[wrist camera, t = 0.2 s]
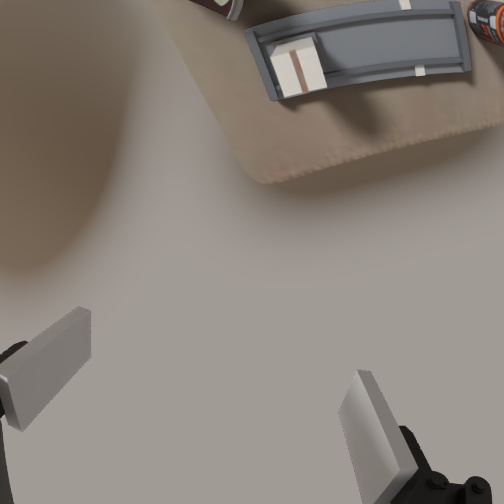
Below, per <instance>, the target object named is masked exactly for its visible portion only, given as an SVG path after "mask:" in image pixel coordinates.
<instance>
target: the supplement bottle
mask: <svg viewBox="0 0 504 504" xmlns="http://www.w3.org/2000/svg"><path fill="white" fill-rule="evenodd" d="M467 16H468V22H469V24H470V26H471V28H472V30H473V31H474V32H475V33H476V34H477V35H478V36H479V37H481V38H482V39H485V40H487V41H489V42H492V43H495V44H498V45H500V46H502V47H504V3H501V2H495V1H490V0H475V1H474V2H472V3H471V4H470V6H469V8H468V13H467Z"/></svg>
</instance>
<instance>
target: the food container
mask: <svg viewBox="0 0 504 504" xmlns="http://www.w3.org/2000/svg"><path fill="white" fill-rule="evenodd" d="M190 1H192V2H195V3H197V4H199V5H202V6H204V7H206V8H209V9H211V10H213V11H216V12H218V13H220V14H222V15H225V16H227V20H228V19H229V20H232V21H236V20H237V18H238V16H239V14H240V12H241V9H242V6H243V1H244V0H190Z"/></svg>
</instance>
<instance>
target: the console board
mask: <svg viewBox="0 0 504 504" xmlns="http://www.w3.org/2000/svg"><path fill="white" fill-rule="evenodd" d="M245 32H246V33H245V37H246V39H247V42H248V44H249V47H250V49H251V52H252V54H253V57H254V59H255V62H256V64H257V67H258V70H259V72H260V75H261V77H262V80H263V83H264V85H265V88H266V91H267V93H268V96H269V99H270V101H272V102H274V101H278V100H282V99H286V98H290V97H294V96H298V95H303V94H307V93H312V92H316V91H321V90H326V89H331V88H336V87H341V86H346V85H352V84H358V83H364V82H370V81H376V80H383V79H391V78H398V77H407V76H423V75H427V74H439V73H454V72H468V71H472V69H471V61H470V53H469V47H468V40H467V34H466V29H465V24H464V19H463V14H462V9H461V5H460V2H456V1H455V0H378V1H369V2H361V3H354V4H347V5H341V6H335V7H330V8H324V9H319V10H314V11H310V12H305V13H301V14H297V15H292V16H288V17H285V18H281V19H277V20H273V21H270V22H266V23H263V24H259V25H256V26H253V27H250V28H247V29H245ZM309 32H315V35H316V38H317V41H318V44H319V47H320V50H321V53H322V57H323V60H324V63H325V66H326V70H327V71H326V72H323V74H324V77H325V81H326V84H327V88H322V89H317V90H313V91H309V92H306V93H300V94H295V95H291V96H287V97H284V94H283V92H282V89H281V86H280V83H279V80H278V77H277V75H276V72H275V69H274V66H273V64H272V61H271V58H270V57H271V55H272V54H273V52H274V48H273V45H272V42H273V41H277V40H281V39H285V38H288V37H292V36H297V35H301V34H305V33H309Z"/></svg>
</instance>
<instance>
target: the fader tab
mask: <svg viewBox="0 0 504 504" xmlns="http://www.w3.org/2000/svg"><path fill="white" fill-rule="evenodd" d="M272 45H273V48H274V52H273V54H272V55H271V57H270V58H271V61H272V64H273V66H274V69H275V72H276V75H277V77H278V80H279V83H280V86H281V89H282V92H283V94H284V97H287V96H291V95H295V94H300V93H306V92H309V91H313V90H317V89H322V88H327V84H326V81H325V77H324V74H323V72H326V71H327V70H326V66H325V63H324V60H323V57H322V53H321V50H320V47H319V44H318V41H317V38H316V35H315V32H309V33H305V34H301V35H297V36H292V37H288V38H285V39H281V40H277V41H273V42H272Z"/></svg>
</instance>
